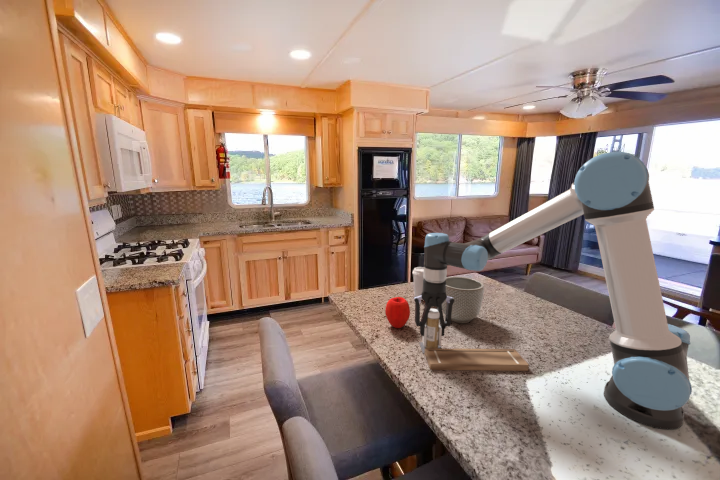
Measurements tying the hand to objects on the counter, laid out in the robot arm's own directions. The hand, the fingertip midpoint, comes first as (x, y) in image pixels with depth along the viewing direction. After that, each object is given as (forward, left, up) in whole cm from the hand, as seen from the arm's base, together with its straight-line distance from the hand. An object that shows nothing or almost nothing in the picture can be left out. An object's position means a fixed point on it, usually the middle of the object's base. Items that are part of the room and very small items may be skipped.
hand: (431, 343), depth 106 cm
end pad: (0, 0, -2) cm, 2 cm away
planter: (+24, -17, -2) cm, 29 cm away
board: (-8, -12, -2) cm, 15 cm away
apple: (+17, +10, -2) cm, 19 cm away
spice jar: (0, 0, -1) cm, 1 cm away
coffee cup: (+47, -5, -2) cm, 47 cm away
